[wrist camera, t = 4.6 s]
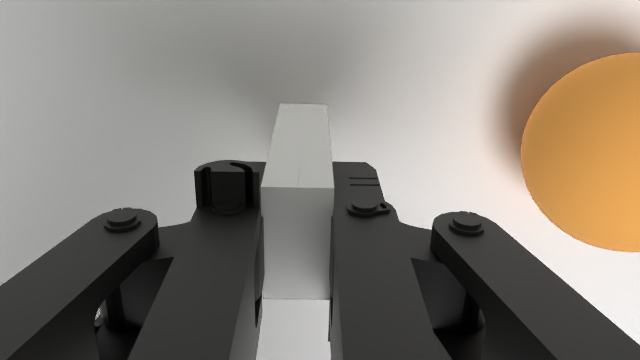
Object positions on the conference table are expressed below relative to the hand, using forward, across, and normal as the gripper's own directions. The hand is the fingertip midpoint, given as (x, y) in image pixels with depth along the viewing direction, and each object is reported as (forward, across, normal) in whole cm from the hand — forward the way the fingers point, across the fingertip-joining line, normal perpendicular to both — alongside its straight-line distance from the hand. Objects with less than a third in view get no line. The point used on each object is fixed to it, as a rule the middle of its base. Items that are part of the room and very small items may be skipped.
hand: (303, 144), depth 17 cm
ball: (-1, -10, 0) cm, 10 cm away
